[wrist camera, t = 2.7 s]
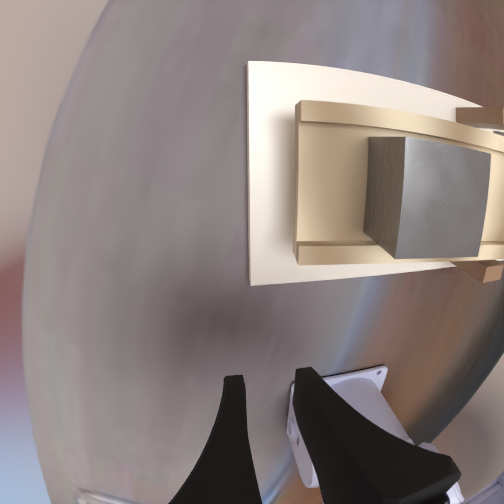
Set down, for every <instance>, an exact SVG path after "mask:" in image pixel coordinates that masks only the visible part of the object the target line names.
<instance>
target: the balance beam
mask: <svg viewBox="0 0 504 504" xmlns="http://www.w3.org/2000/svg"><path fill="white" fill-rule="evenodd" d="M368 137H411V138H417V139H423V140H429V141H435V142H440V143H446V144H451V145H456V146H460V147H465V148H470V149H474V150H478V151H482V152H486V153H490V154H491V167H490V180H489V190H488V199H487V207H486V215H485V221H484V227H483V233H482V239H481V244H480V249H479V254H478V257H460V258H424V259H394V258H393V257H392V256H391V255H389V254H388V253H387V252H386V251H385V250H384V249H383V248H381V247H380V246H379V245H378V244H377V243H376V242H374V241H373V240H372V239H371V238H370V237H369V236H367V235H366V234H365V233H364V232H363V227H364V216H365V203H366V187H367V167H368ZM293 253H294V256H295V258H296V261H297V264H298V265H341V264H381V263H416V262H446V261H472V260H497V259H504V132H500V131H493V133H492V132H489V131H485V130H482V129H479V128H475V127H471V126H468V125H464V124H460V123H456V122H452V121H448V120H444V119H440V118H435V117H431V116H426V115H421V114H416V113H411V112H405V111H399V110H393V109H387V108H381V107H373V106H366V105H358V104H349V103H339V102H328V101H314V100H300V101H299V102H298V103H297V104H296V105H295V193H294V232H293Z"/></svg>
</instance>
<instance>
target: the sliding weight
mask: <svg viewBox="0 0 504 504" xmlns="http://www.w3.org/2000/svg"><path fill="white" fill-rule="evenodd" d="M490 167H491V154H490V153H486V152H482V151H478V150H474V149H470V148H465V147H460V146H456V145H451V144H446V143H440V142H435V141H429V140H423V139H417V138H411V137H368V167H367V187H366V203H365V216H364V227H363V232H364V233H365V234H366V235H367V236H369V237H370V238H371V239H372V240H373V241H374V242H376V243H377V244H378V245H379V246H380V247H381V248H383V249H384V250H385V251H386V252H387V253H388V254H389V255H391V256H392V257H393V258H394V259H424V258H460V257H478V254H479V249H480V244H481V239H482V233H483V227H484V221H485V215H486V207H487V199H488V190H489V180H490Z"/></svg>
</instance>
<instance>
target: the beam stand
mask: <svg viewBox="0 0 504 504" xmlns="http://www.w3.org/2000/svg"><path fill="white" fill-rule="evenodd" d="M246 70H247V171H248V251H249V281H250V285H251V286H253V285H267V284H281V283H295V282H307V281H319V280H331V279H342V278H353V277H364V276H374V275H384V274H394V273H403V272H412V271H421V270H430V269H438V268H447V267H455V266H457V267H458V268H460V269H462V270H463V271H465V272H467V273H468V274H470V275H471V276H473V277H474V278H476V279H478V280H479V281H481V282H482V283H485V282H490V281H495V280H499V279H500V278H501V274H502V270H503V266H504V264H502V263H500V262H499V261H500V260H504V259H497V260H472V261H446V262H416V263H381V264H341V265H298V264H297V261H296V258H295V256H294V253H293V232H294V193H295V105H296V104H297V103H298V102H299V101H300V100H314V101H328V102H339V103H349V104H358V105H366V106H373V107H381V108H387V109H393V110H399V111H405V112H411V113H416V114H421V115H426V116H431V117H435V118H440V119H444V120H448V121H452V122H456V123H460V124H464V125H468V126H471V127H475V128H479V129H482V130H485V131H489V132H492V133H493V131H500V132H504V108H503V107H482V106H479V105H477V104H474V103H472V102H469V101H466V100H463V99H461V98H458V97H455V96H452V95H449V94H446V93H443V92H440V91H436V90H433V89H430V88H426V87H423V86H419V85H415V84H412V83H408V82H404V81H400V80H396V79H391V78H387V77H382V76H378V75H373V74H368V73H362V72H357V71H351V70H345V69H338V68H331V67H324V66H316V65H306V64H296V63H283V62H265V61H248V63H247V65H246Z"/></svg>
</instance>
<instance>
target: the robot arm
mask: <svg viewBox="0 0 504 504" xmlns="http://www.w3.org/2000/svg"><path fill="white" fill-rule="evenodd" d="M387 371H388V368H387V367H386V366H385V365H384V366H379V367H375V368H370V369H366V370H361V371H356V372H351V373H346V374H341V375H336V376H330V377H325V378H322V377H321V376H320V375H319V374H318V373H317V372H316V371H315V370H314V369H313V368H312V367H306V368H299V369H296V373H295V383H293V384H292V386H291V394H290V403H289V412H288V421H287V429H286V433H287V436H289V439H290V442H291V446H292V449H293V453H294V456H295V460H296V463H297V466H298V470H299V473H300V476H301V479H302V481H303V483H304V485H305V486H306V487H307V488H315V487H320V490H321V494H322V498H323V504H504V471H503V472H501V474H500V475H499V476H498V477H497V478H496V479H495V480H494V481H492V482H491V483H489V484H488V485H487V486H485V487H484V488H483V489H481V490H479V491H478V492H476V493H475V494H473V495H472V496H471V497H469V498H467V499H466V500H464V498H463V496H462V494H461V492H460V487H459V485H458V483H457V481H458V480H459V478H460V476H461V472H460V470H459V469H458V467H457V466H456V464H455V463H454V461H453V460H452V458H451V457H450V456H447V455H444V454H440V453H439V451H438V450H437V449H436V448H435V446H434V445H433V444H430V443H427V444H426V443H425V442H423V443H421V444H420V445H418V446H416V445H415V444H414V443H413V441H412V439H410V438H409V437H408V435H407V433H406V432H405V430H404V428H403V427H402V425H401V424H400V422H399V420H398V419H397V417H396V416H395V414H394V412H393V411H392V409H391V408H390V406H389V404H388V403H387V401H386V400H385V398H384V397H383V395H382V393H381V392H380V391H381V389H382V386H383V383H384V380H385V377H386V374H387ZM168 504H262V500H261V496H260V492H259V488H258V483H257V479H256V474H255V470H254V465H253V460H252V455H251V450H250V445H249V440H248V431H247V412H246V388H245V383H244V379H243V375H233V376H226V377H225V378H224V386H223V393H222V398H221V403H220V407H219V410H218V414H217V417H216V420H215V423H214V426H213V428H212V431H211V434H210V436H209V439H208V441H207V443H206V445H205V448H204V450H203V452H202V454H201V456H200V458H199V459H198V461H197V463H196V465H195V467H194V468H193V470H192V472H191V473H190V475H189V476H188V478H187V479H186V481H185V482H184V484H183V485H182V487H181V488H180V489H179V491H178V492H177V494H176V495H175V496H174V498H173V499H172V500H171V501H170V502H169V503H168Z"/></svg>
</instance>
